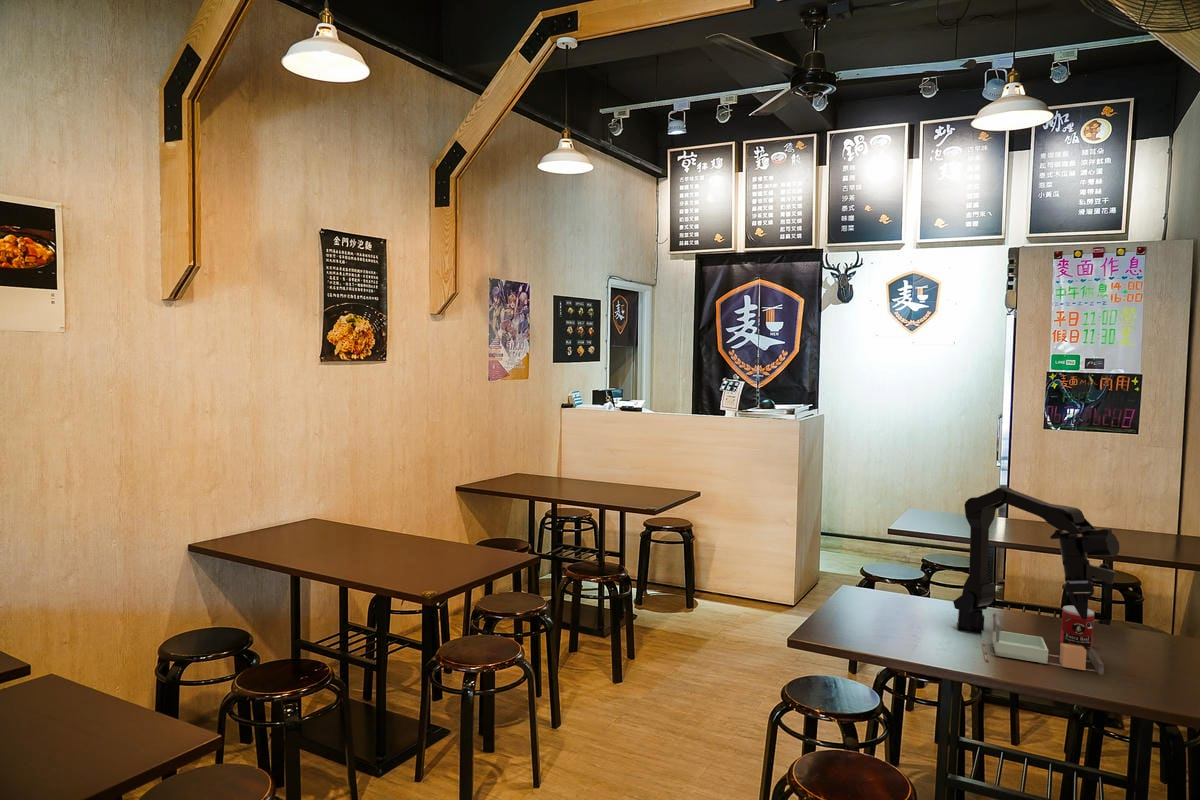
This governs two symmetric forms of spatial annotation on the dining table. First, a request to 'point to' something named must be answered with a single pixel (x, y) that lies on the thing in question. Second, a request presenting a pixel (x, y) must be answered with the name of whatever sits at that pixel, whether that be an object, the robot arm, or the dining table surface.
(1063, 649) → the block
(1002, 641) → the tray with handle
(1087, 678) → the dining table surface
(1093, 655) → the track
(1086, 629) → the canned food
